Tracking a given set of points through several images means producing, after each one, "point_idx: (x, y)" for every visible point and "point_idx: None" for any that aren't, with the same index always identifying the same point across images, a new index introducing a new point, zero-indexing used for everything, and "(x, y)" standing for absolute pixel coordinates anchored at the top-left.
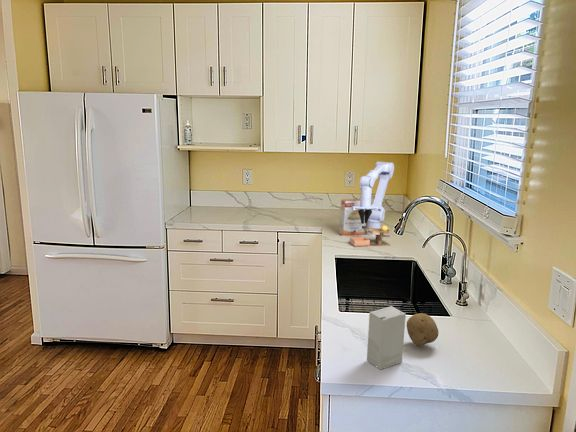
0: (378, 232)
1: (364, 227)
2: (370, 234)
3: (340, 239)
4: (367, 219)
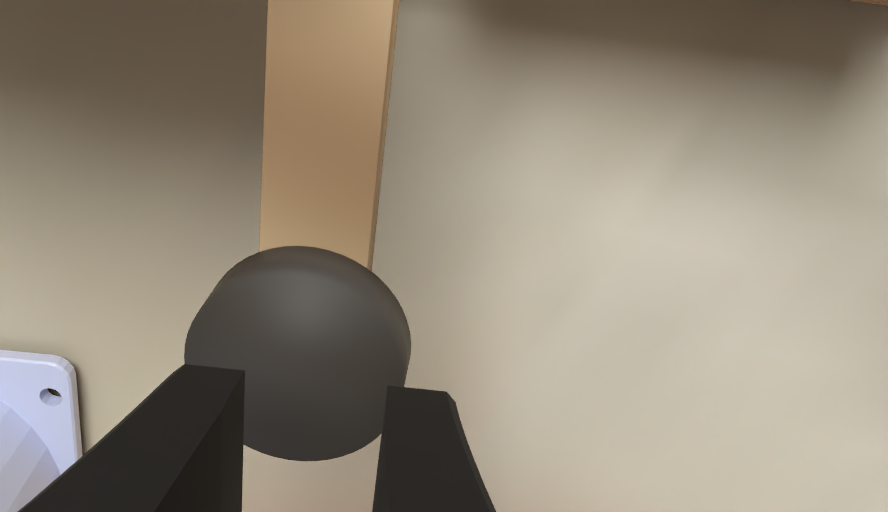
0: None
1: (343, 275)
2: (5, 455)
3: (763, 422)
4: (106, 503)
